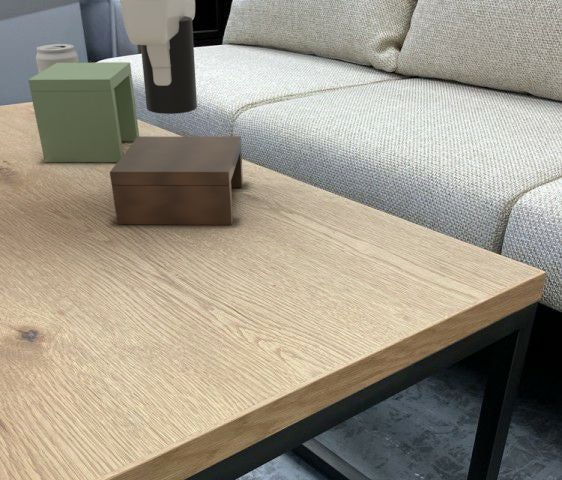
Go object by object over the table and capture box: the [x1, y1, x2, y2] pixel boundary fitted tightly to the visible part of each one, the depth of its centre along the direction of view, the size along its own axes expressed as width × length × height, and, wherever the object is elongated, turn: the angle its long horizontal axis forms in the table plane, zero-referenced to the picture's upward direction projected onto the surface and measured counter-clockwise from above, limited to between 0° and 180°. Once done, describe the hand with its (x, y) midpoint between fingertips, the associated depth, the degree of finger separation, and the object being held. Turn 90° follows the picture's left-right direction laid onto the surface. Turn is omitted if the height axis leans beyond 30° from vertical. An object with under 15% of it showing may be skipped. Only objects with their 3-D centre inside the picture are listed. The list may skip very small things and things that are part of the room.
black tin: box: [140, 16, 198, 115], centre depth 76 cm, size 6×6×9 cm
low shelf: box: [109, 136, 244, 226], centre depth 83 cm, size 13×14×6 cm
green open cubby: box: [28, 61, 140, 163], centre depth 101 cm, size 11×12×11 cm
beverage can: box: [35, 43, 80, 74], centre depth 112 cm, size 6×6×12 cm
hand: (169, 77), depth 77 cm, fingers closed on black tin, 5 cm apart
